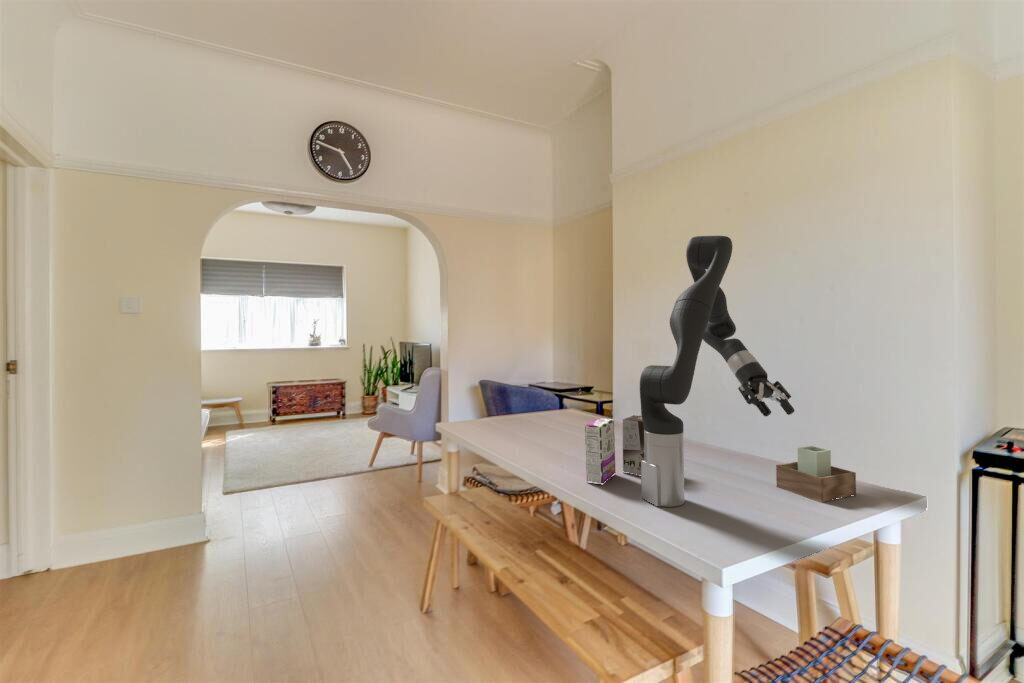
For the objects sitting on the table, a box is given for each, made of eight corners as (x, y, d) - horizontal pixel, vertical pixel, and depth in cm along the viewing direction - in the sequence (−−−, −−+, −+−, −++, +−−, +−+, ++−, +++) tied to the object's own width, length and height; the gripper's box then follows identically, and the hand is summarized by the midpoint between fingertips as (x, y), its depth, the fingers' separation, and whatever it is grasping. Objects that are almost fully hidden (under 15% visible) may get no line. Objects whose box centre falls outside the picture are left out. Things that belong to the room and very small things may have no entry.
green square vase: (816, 492, 110) (816, 452, 109) (798, 486, 114) (797, 447, 114) (830, 489, 111) (830, 450, 111) (811, 483, 116) (811, 445, 116)
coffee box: (643, 477, 126) (642, 421, 126) (622, 473, 130) (621, 419, 130) (654, 469, 133) (653, 416, 133) (634, 465, 137) (633, 414, 137)
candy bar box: (599, 472, 131) (598, 417, 131) (616, 474, 129) (615, 419, 128) (585, 483, 122) (584, 424, 122) (602, 486, 119) (601, 426, 119)
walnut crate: (821, 502, 105) (821, 478, 105) (776, 486, 116) (776, 464, 116) (855, 495, 109) (855, 472, 109) (809, 481, 120) (808, 459, 120)
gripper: (735, 361, 127) (769, 407, 116) (772, 360, 131) (808, 404, 121) (720, 377, 132) (752, 423, 121) (757, 376, 136) (790, 420, 126)
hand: (780, 413), depth 121 cm, fingers open, 8 cm apart
